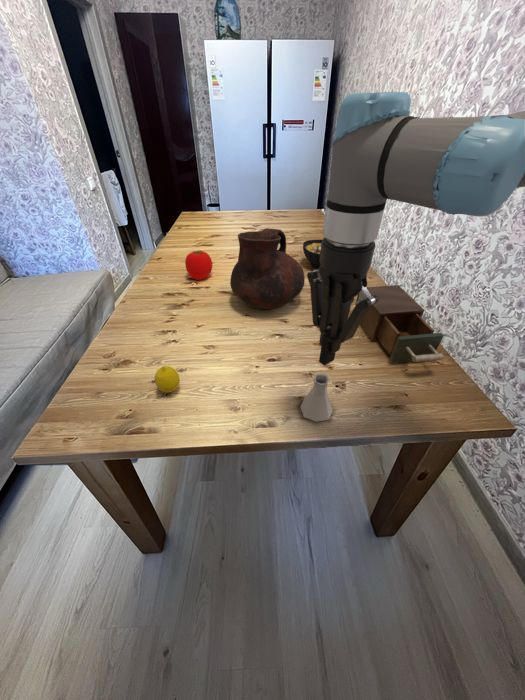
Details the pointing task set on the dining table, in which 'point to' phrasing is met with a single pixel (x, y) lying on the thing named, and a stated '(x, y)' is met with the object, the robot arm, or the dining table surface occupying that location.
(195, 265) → the tomato
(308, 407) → the flask
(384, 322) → the drawer
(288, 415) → the dining table surface
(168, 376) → the fruit
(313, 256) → the bowl
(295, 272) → the jug
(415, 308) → the cabinet
